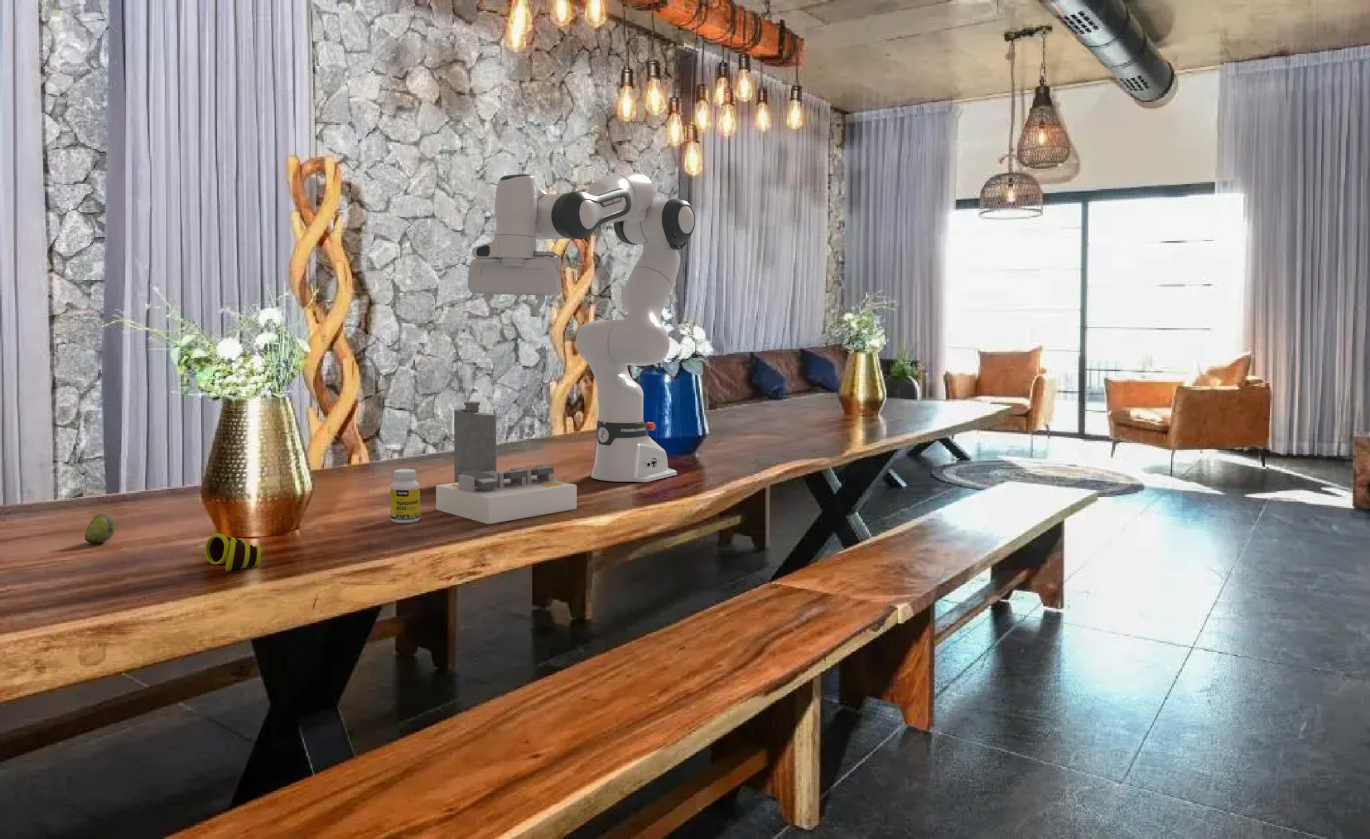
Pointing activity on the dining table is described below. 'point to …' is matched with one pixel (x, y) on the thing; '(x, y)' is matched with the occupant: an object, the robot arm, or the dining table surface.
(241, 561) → the brown and yellow tube
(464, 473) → the rocker
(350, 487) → the dining table surface
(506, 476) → the rocker
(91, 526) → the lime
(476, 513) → the switch console
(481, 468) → the hip flask
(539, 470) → the rocker
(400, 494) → the supplement bottle
